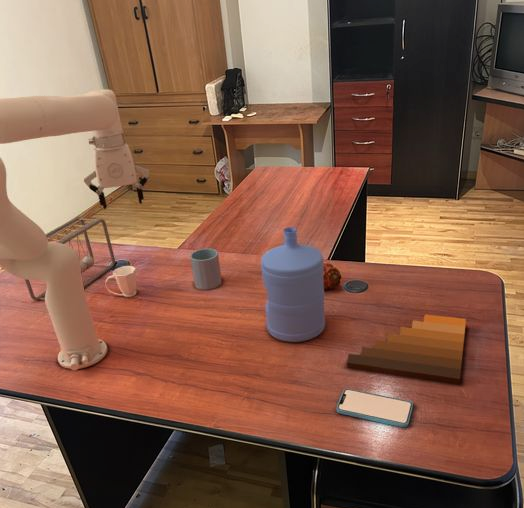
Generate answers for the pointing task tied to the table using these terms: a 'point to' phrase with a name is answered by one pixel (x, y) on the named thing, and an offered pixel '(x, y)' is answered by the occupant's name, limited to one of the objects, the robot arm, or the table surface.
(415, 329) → the pan flute
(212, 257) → the tumbler
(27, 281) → the newton's cradle
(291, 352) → the table surface
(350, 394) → the smartphone
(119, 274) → the cup
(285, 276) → the water jug
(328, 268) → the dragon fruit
